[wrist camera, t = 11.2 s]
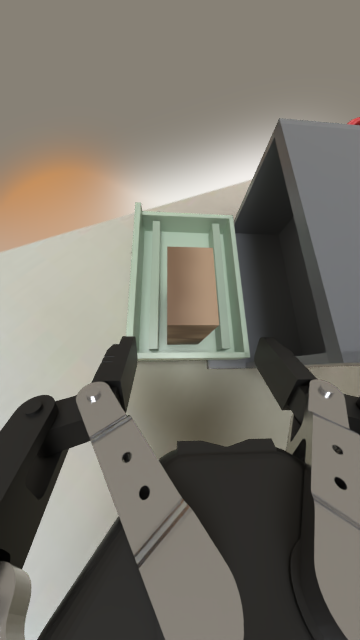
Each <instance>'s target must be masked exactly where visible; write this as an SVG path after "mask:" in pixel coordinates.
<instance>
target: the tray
mask: <svg viewBox="0 0 360 640" xmlns="http://www.w3.org/2000/svg"><path fill="white" fill-rule="evenodd" d="M167 246H169V247H201V248H213V255H214V267H215V279H216V292H217V304H218V316H219V326H218V327H217V328H215V329H214V330H213V331H212V332H211V333H210V334H209V335H208V336H207V337H206V338H204V339H203V340H202V341H201V342H200V343H199V344H196V345H167ZM126 336H135V337H136V346H137V356H138V360H137V361H155V360H239V359H244V358H250V351H249V343H248V335H247V326H246V318H245V310H244V302H243V294H242V286H241V277H240V269H239V261H238V253H237V245H236V236H235V228H234V220H233V215H212V214H191V213H170V212H148V211H142V207H141V203H135V216H134V231H133V245H132V259H131V273H130V287H129V301H128V315H127V329H126Z"/></svg>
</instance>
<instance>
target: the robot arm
mask: <svg viewBox="0 0 360 640" xmlns="http://www.w3.org/2000/svg"><path fill="white" fill-rule="evenodd" d="M137 360H138V356H137V346H136V337H135V336H123V337H122V339H121V341H120V344H113V345H112V346H111V347H110V348H109V349H108V350H107V352H106V354H105V357H104V358H103V360H102V363H101V364H100V366H99V368H98V370H97V372H96V374H95V376H94V379H93V381H92V383H90V384H88V385H86V386H85V387H83V388H82V389H81V390H80V391H79V393H78V394H77V395H76V396H73V397H70V398H66V399H62V400H59V401H55V400H54V398H53V397H51V396H49V395H41V396H37V397H34V398H32V399H30V400H28V401H26V402H25V403H23V404H22V405H21V406H20V407H19V408H18V409H17V410H16V411H15V412H14V414H13V415H12V416H11V418H10V419H9V420H8V422H7V423H6V424H5V426H4V427H3V428H2V430H1V431H0V640H25V637H24V627H25V619H26V614H27V610H28V606H29V602H30V597H31V580H30V577H29V575H28V574H27V573H26V572H25V571H24V570H22V568H23V565H24V563H25V560H26V558H27V555H28V552H29V550H30V547H31V545H32V542H33V540H34V537H35V534H36V532H37V529H38V527H39V524H40V522H41V519H42V516H43V514H44V511H45V509H46V506H47V504H48V501H49V498H50V496H51V493H52V491H53V488H54V486H55V483H56V480H57V478H58V475H59V473H60V470H61V468H62V465H63V462H64V460H65V457H66V455H67V452H68V450H69V448H72V447H74V446H77V445H80V444H83V443H86V442H88V441H91V443H92V446H93V448H94V451H95V454H96V456H97V459H98V462H99V464H100V467H101V470H102V472H103V475H104V478H105V480H106V483H107V486H108V488H109V491H110V494H111V496H112V499H113V502H114V504H115V507H116V510H117V512H118V515H119V516H118V518H117V519H116V521H115V522H114V524H113V525H112V527H111V528H110V530H109V531H108V533H107V534H106V536H105V537H104V539H103V540H102V542H101V543H100V545H99V546H98V548H97V549H96V551H95V552H94V554H93V555H92V557H91V558H90V560H89V561H88V563H87V564H86V566H85V567H84V569H83V570H82V572H81V573H80V575H79V576H78V578H77V579H76V581H75V582H74V584H73V585H72V587H71V588H70V590H69V591H68V593H67V594H66V596H65V597H64V599H63V600H62V602H61V603H60V605H59V606H58V608H57V609H56V611H55V612H54V614H53V615H52V617H51V618H50V620H49V621H48V623H47V624H46V626H45V627H44V629H43V631H42V632H41V634H40V636H39V638H38V639H37V640H360V397H354V396H350V395H346V394H343V393H342V392H341V391H340V390H339V389H338V388H337V387H335V386H334V385H332V384H331V383H329V382H326V381H323V380H318V379H316V378H315V376H314V375H313V374H312V373H311V372H310V371H309V370H308V369H307V368H306V367H305V366H304V365H303V364H302V362H300V360H299V359H298V358H297V357H295V355H294V354H293V353H292V352H291V351H290V350H289V349H288V348H286V347H285V346H283V345H281V344H280V343H279V342H278V341H277V340H276V339H275V338H274V337H261V338H260V339H259V342H258V345H257V349H256V352H255V355H254V362H255V365H256V367H257V369H258V370H259V372H260V374H261V375H262V377H263V379H264V380H265V382H266V384H267V386H268V387H269V389H270V391H271V392H272V394H273V396H274V397H275V399H276V401H277V402H278V404H279V406H280V408H281V409H282V410H291V411H292V412H293V414H292V416H291V421H290V427H289V434H288V441H287V447H286V450H285V451H284V450H282V449H279V448H276V447H275V445H274V443H273V441H272V439H248V440H245V441H243V442H240V443H237V444H234V445H232V446H229V447H224V446H220V445H216V444H212V443H208V442H204V441H177V449H176V450H174V451H171V452H169V453H167V454H166V455H164V456H163V457H161V458H160V459H159V460H158V459H157V457H156V455H155V454H154V452H153V451H152V449H151V447H150V446H149V444H148V443H147V441H146V439H145V438H144V436H143V434H142V433H141V431H140V430H139V428H138V426H137V425H136V423H135V422H134V420H133V419H132V417H131V416H130V415H128V416H127V415H126V414H125V413H126V411H127V406H128V402H129V398H130V393H131V389H132V385H133V380H134V376H135V372H136V367H137Z"/></svg>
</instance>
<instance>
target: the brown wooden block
mask: <svg viewBox="0 0 360 640" xmlns="http://www.w3.org/2000/svg"><path fill="white" fill-rule="evenodd" d="M218 326H219V316H218V304H217V292H216V279H215V267H214V255H213V248H201V247H169V246H167V345H196V344H199V343H200V342H201V341H202V340H203V339H204V338H206V337H207V336H208V335H209V334H210V333H211V332H212V331H213V330H214V329H215V328H217V327H218Z"/></svg>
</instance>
